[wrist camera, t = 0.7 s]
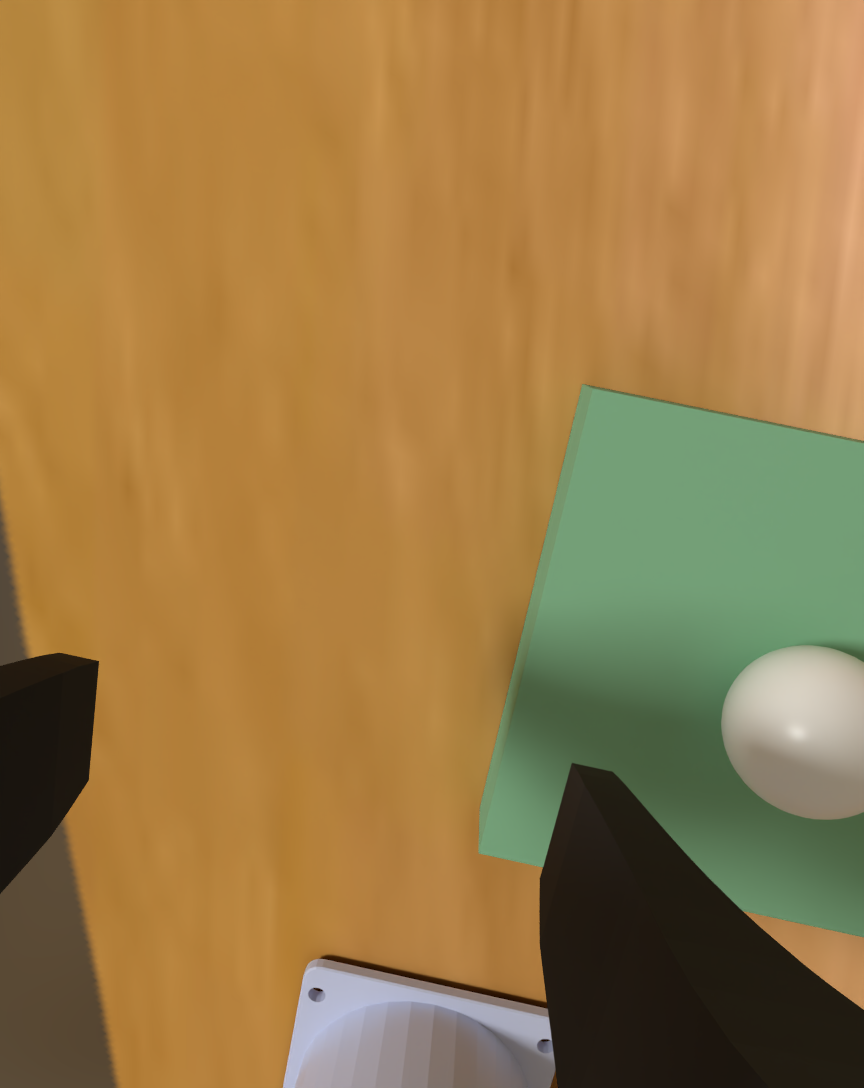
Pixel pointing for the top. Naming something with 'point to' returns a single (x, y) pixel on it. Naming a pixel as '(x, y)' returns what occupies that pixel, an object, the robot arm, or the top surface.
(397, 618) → the top surface
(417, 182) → the top surface
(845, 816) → the ball
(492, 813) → the green
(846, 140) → the top surface
